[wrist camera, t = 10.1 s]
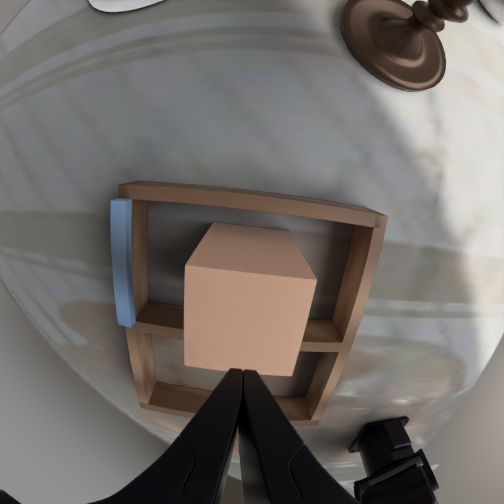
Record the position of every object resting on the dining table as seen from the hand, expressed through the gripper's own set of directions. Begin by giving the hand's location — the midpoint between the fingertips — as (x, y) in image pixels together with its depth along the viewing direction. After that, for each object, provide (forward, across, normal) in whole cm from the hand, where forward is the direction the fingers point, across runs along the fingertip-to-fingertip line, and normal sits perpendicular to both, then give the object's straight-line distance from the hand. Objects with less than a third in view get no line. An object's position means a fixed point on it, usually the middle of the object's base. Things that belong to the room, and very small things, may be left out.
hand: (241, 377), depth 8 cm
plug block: (+11, 0, 0) cm, 11 cm away
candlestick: (+11, -9, -19) cm, 23 cm away
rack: (+11, 0, +4) cm, 12 cm away
